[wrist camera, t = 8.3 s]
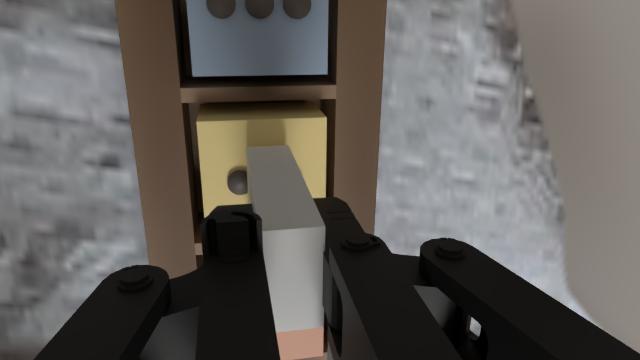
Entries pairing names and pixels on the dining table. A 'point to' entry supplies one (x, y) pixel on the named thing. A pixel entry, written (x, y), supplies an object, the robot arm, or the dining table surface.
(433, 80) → the dining table surface
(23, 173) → the dining table surface
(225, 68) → the tile three
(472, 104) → the dining table surface
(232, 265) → the robot arm
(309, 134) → the tile two
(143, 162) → the key strip
